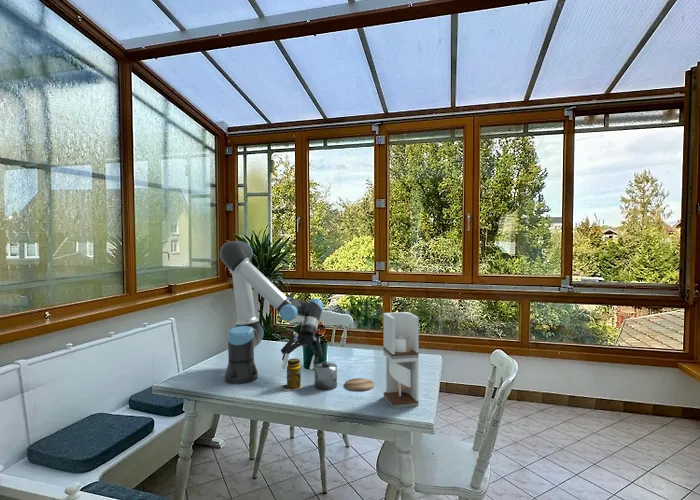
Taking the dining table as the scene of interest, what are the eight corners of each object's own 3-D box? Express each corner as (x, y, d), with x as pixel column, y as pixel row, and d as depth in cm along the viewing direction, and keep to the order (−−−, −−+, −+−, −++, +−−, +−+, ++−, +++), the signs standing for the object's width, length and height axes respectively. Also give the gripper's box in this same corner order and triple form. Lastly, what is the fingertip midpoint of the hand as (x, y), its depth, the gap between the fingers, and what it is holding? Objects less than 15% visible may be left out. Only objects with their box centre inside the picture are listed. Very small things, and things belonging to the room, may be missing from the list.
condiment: (304, 387, 178) (304, 360, 178) (286, 391, 174) (286, 364, 173) (296, 382, 184) (296, 356, 184) (279, 386, 180) (279, 359, 179)
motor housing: (311, 384, 182) (310, 361, 181) (331, 380, 186) (330, 358, 186) (320, 392, 173) (319, 367, 173) (340, 387, 178) (340, 364, 177)
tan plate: (339, 383, 183) (339, 381, 183) (364, 378, 189) (364, 376, 189) (353, 393, 172) (353, 390, 172) (379, 387, 178) (379, 385, 178)
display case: (383, 397, 167) (383, 313, 166) (407, 394, 170) (407, 311, 169) (392, 408, 156) (392, 318, 155) (418, 405, 159) (418, 317, 157)
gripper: (335, 333, 194) (325, 375, 181) (287, 330, 201) (274, 370, 188) (331, 325, 189) (320, 367, 175) (283, 322, 196) (268, 362, 182)
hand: (296, 368), depth 181 cm, fingers open, 13 cm apart
